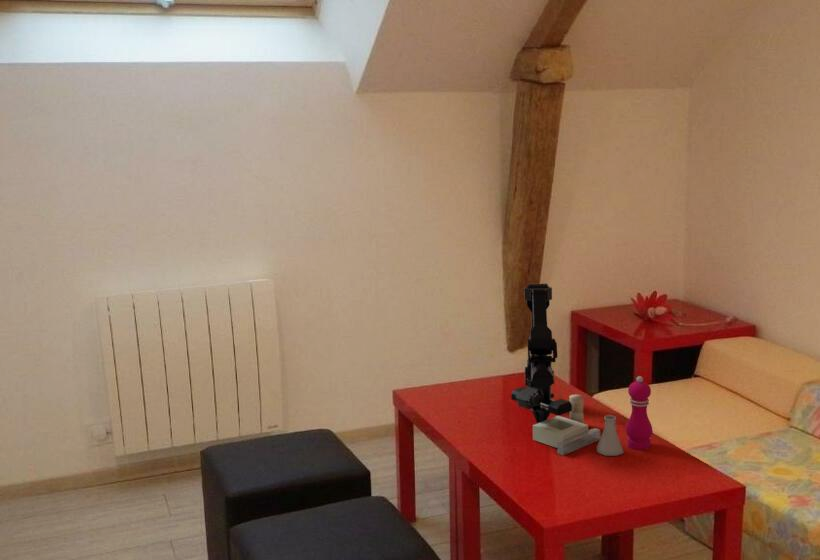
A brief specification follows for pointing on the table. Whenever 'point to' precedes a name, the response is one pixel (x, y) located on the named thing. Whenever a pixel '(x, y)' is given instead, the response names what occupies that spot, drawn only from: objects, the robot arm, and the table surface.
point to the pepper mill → (639, 416)
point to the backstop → (578, 441)
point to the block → (557, 430)
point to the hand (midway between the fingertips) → (540, 428)
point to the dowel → (576, 408)
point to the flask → (609, 439)
